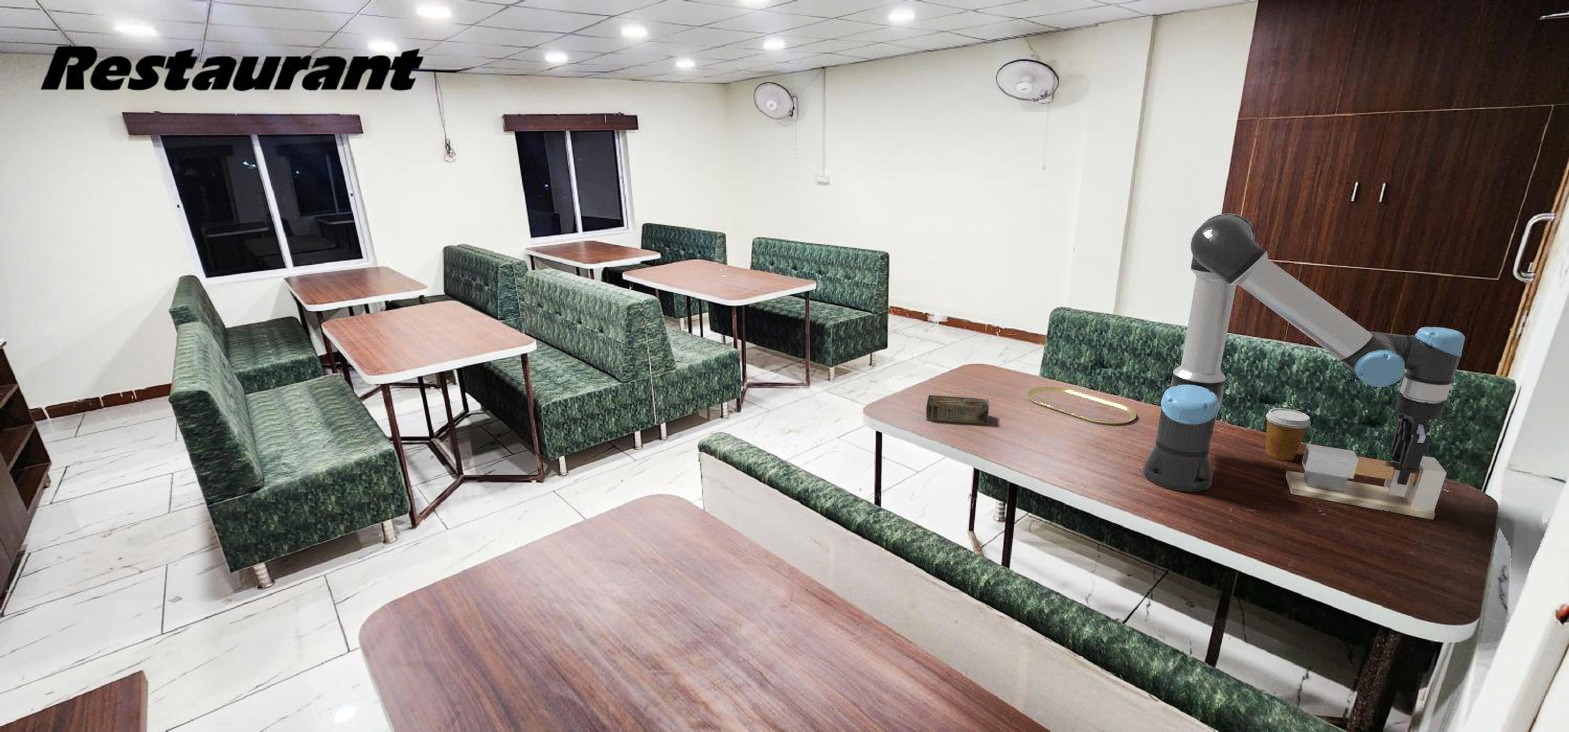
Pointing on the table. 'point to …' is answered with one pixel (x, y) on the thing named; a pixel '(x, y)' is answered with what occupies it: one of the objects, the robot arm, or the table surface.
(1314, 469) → the sleeve
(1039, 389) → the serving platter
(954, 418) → the beverage carton
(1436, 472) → the socket block
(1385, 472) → the brown wooden bar
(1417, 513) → the bench board
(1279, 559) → the table surface
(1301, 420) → the disposable coffee cup
